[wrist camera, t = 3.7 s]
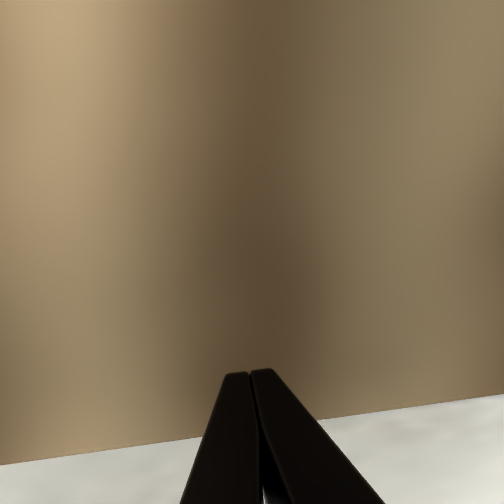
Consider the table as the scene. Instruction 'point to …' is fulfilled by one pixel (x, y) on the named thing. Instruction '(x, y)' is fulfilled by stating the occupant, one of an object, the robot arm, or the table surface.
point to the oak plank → (244, 211)
